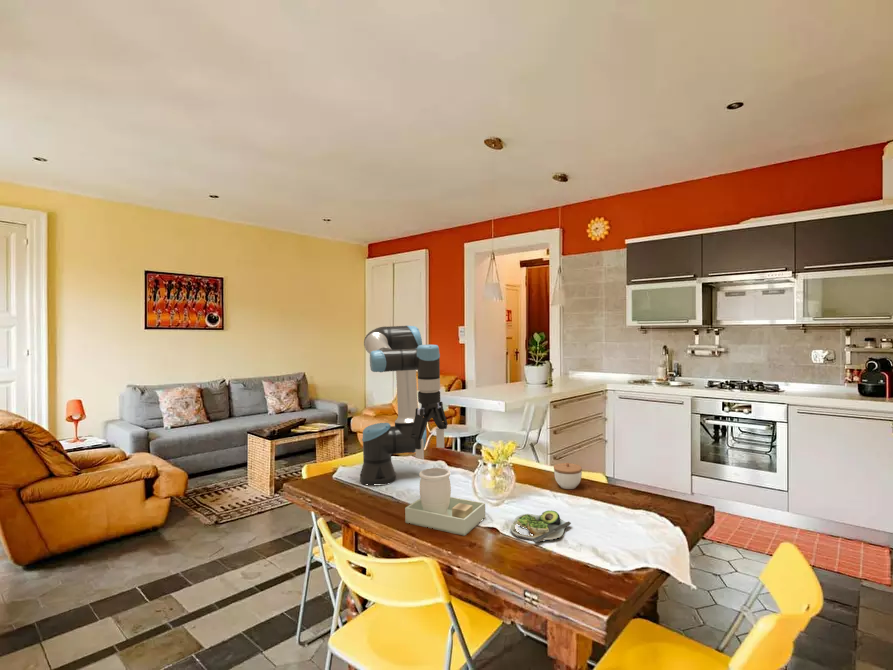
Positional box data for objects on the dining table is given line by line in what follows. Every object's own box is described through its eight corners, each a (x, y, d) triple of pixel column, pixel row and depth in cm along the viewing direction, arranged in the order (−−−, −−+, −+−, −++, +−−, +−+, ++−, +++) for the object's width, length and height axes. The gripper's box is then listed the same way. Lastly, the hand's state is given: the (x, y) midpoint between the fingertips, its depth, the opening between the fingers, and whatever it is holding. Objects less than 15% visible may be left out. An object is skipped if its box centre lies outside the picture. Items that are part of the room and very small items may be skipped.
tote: (429, 506, 176) (428, 492, 176) (485, 517, 165) (485, 503, 165) (405, 522, 163) (405, 507, 163) (464, 535, 152) (464, 519, 152)
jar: (452, 510, 171) (451, 467, 171) (450, 522, 161) (449, 477, 160) (422, 509, 172) (421, 467, 172) (418, 522, 162) (416, 477, 161)
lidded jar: (585, 484, 195) (585, 461, 194) (577, 493, 186) (576, 468, 185) (559, 480, 201) (559, 457, 200) (550, 488, 192) (549, 464, 191)
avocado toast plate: (563, 551, 141) (562, 535, 141) (503, 542, 148) (502, 527, 148) (572, 524, 159) (572, 510, 159) (518, 517, 166) (518, 503, 166)
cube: (472, 520, 162) (472, 505, 162) (465, 526, 158) (465, 510, 158) (459, 517, 165) (459, 503, 164) (452, 523, 160) (451, 508, 160)
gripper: (438, 384, 178) (439, 441, 179) (398, 396, 156) (400, 461, 157) (456, 385, 174) (457, 444, 176) (418, 398, 152) (420, 465, 154)
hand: (430, 452), depth 167 cm, fingers open, 13 cm apart
